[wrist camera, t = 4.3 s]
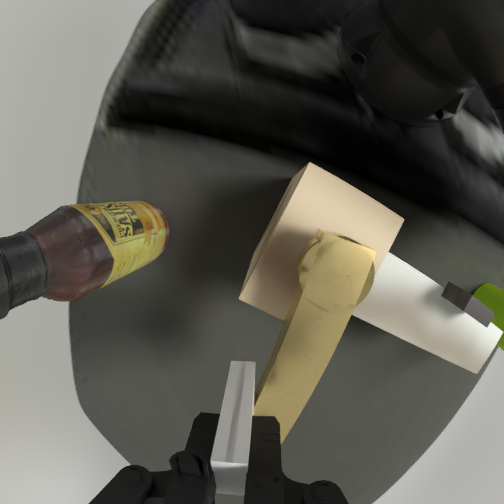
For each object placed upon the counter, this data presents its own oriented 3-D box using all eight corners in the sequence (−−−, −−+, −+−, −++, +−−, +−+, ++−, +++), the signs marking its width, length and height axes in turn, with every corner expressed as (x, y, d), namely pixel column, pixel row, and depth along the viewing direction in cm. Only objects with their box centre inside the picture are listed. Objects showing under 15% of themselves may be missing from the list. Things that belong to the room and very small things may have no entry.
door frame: (292, 177, 25) (317, 154, 11) (445, 271, 25) (534, 321, 11) (253, 253, 27) (231, 319, 12) (410, 332, 27) (476, 411, 13)
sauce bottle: (181, 213, 26) (15, 258, 7) (161, 270, 28) (20, 378, 8) (127, 190, 26) (-45, 201, 7) (111, 245, 28) (-44, 307, 8)
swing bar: (309, 222, 12) (322, 232, 9) (372, 244, 12) (401, 260, 9) (232, 426, 15) (225, 464, 12) (280, 437, 15) (280, 474, 12)
